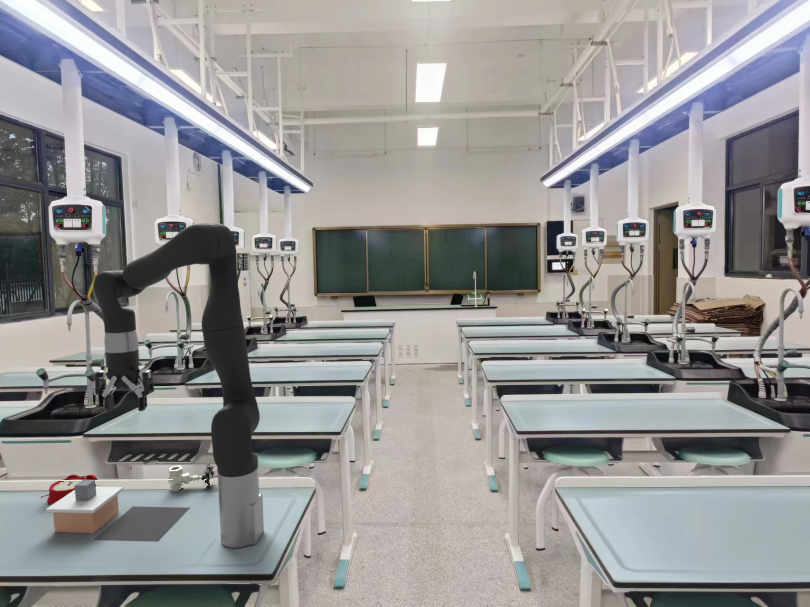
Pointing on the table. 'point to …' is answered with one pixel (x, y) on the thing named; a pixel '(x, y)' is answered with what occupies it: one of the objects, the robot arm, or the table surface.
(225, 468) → the robot arm
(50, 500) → the alarm clock
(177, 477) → the valve
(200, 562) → the table surface
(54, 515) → the tub
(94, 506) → the lid
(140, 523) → the mat
